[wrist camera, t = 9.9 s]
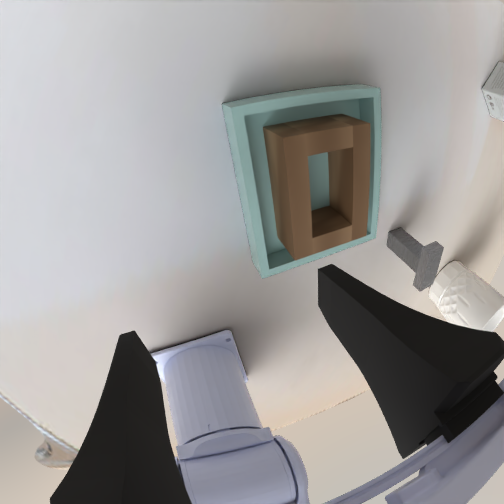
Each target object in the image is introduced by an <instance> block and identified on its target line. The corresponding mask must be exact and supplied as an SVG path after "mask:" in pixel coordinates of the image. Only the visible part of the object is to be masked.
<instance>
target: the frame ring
mask: <svg viewBox="0 0 504 504" xmlns="http://www.w3.org/2000/svg"><path fill="white" fill-rule="evenodd" d="M263 133H264V140H265V147H266V154H267V161H268V169H269V176H270V183H271V191H272V199H273V206H274V214H275V222H276V230H277V237H278V239H279V240H280V241H281V243H282V244H283V245H284V247H285V248H286V249H287V251H288V252H289V253H290V255H291V256H292V257H293V259H294V260H295V261H296V260H299V259H302V258H304V257H307V256H310V255H313V254H316V253H319V252H322V251H325V250H328V249H330V248H333V247H336V246H339V245H342V244H345V243H348V242H350V241H353V240H356V239H359V238H362V237H364V236H366V235H367V223H368V208H369V188H370V123H368V122H365V121H363V120H360V119H357V118H354V117H351V116H348V115H345V114H335V115H328V116H321V117H314V118H308V119H302V120H296V121H291V122H285V123H280V124H275V125H270V126H265V127H263ZM326 152H328V169H329V203H330V206H326V207H323V208H319V209H316V210H312V211H311V198H310V182H309V167H308V156H311V155H316V154H321V153H326Z"/></svg>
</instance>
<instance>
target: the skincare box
mask: <svg viewBox="0 0 504 504" xmlns="http://www.w3.org/2000/svg"><path fill="white" fill-rule="evenodd" d="M482 91H483V94H484V97H485V100H486V103H487V106H488V109H489V113H490V116H491V117H493V118H496V119H498V120H501V121H503V122H504V62H500V61H499V62H498V64H497V66H496V67H495V69H494V71H493V72H492V74H491V75H490V77H489V79H488V80H487V82H486V83H485V85H484V86H483V88H482Z"/></svg>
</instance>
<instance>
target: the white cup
mask: <svg viewBox="0 0 504 504" xmlns="http://www.w3.org/2000/svg"><path fill="white" fill-rule="evenodd" d="M428 296H429V298H430V299H431V301H432V302H433V303H434V304H435V305H436V307H437V308H438V309H439V310H440V313H441V314H442V315H443V316H444V317H445V319H446V320H447V321H448V322H449V323H452V324H456V325H459V326H464V327H468V328H472V329H477V330H484V331H490V332H493V331H494V330H495V328H496V327H497V326H498V325H499V323H500V322H501V320H502V319H503V317H504V297H503V296H502V295H501V294H499V292H497V291H496V290H495V289H494V288H493V287H492V286H491V285H489V284H488V283H487V282H486V281H484V280H483V279H482V278H480V277H479V276H478V275H477V274H476V273H474V272H473V271H471V270H469V269H468V268H467V267H466V266H465V265H463V264H462V263H461V262H459V261H453V262H451V263H449V264H447V265H446V266H445V267H444V268H443V269H442V270H441V271H440V272H439V274H438V275H437V276H436V278H435V280H434V283H433V285H431V287H430V289H429V295H428Z"/></svg>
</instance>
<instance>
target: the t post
mask: <svg viewBox="0 0 504 504" xmlns="http://www.w3.org/2000/svg"><path fill="white" fill-rule="evenodd" d="M387 247H389V248H390V249H391V250H392V251H393V252H394V253H395V254H396V255H397V256H398V257H399V258H401V259H402V260H403V261H404V262H405V263H406V264H407V265H408V266H409V267H410V268H411V269H412V270H413V271H414V272H415V273H416V275H415V279H414V283H413V285H414V286H415V287H416V288H417V289H418V290H419V291H422V290H424V289H425V288H427V287H429V286H431V285H433V283H434V280H435V277H436V273H437V270H438V267H439V263H440V260H441V256H442V252H443V249H444V247H443V246H442V245H440V244H439V243H438V242H437V241H435V242H433V243H431V244H428V245H426V246H423V245H422V244H421V243H419V242H418V241H417V240H416V239H414V238H413V237H412V236H411V235H410V234H408V233H407V232H406V231H405V230H403V229H402V228H398V229H396V230H393V231H391V232H389V234H388V241H387Z"/></svg>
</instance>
